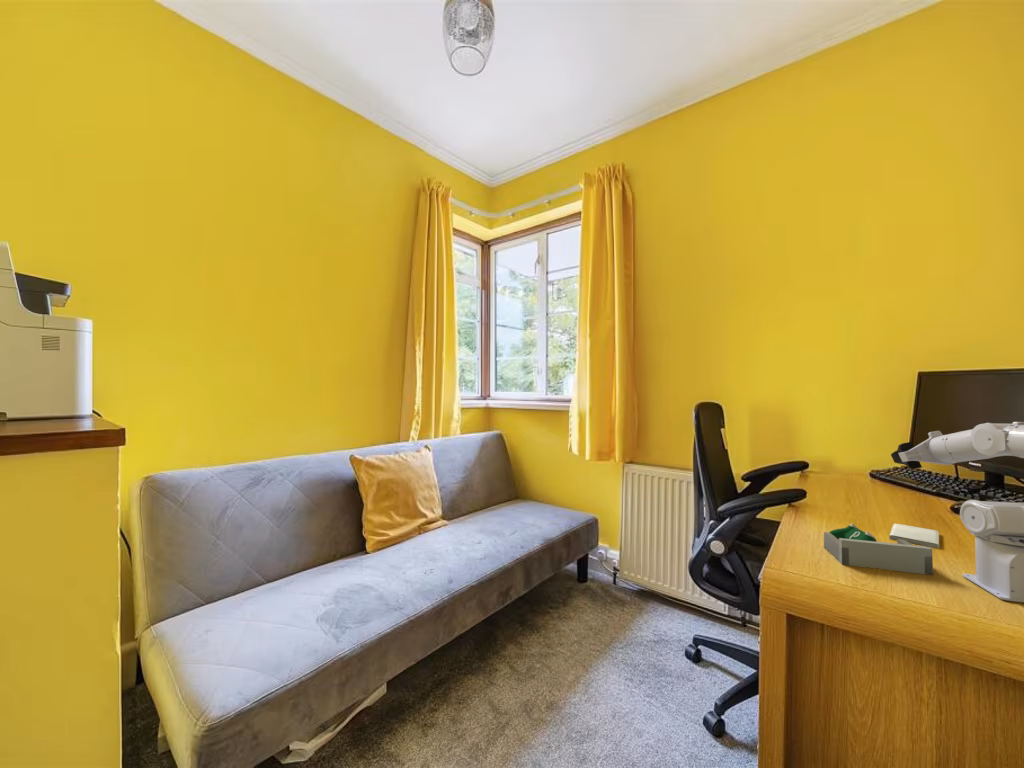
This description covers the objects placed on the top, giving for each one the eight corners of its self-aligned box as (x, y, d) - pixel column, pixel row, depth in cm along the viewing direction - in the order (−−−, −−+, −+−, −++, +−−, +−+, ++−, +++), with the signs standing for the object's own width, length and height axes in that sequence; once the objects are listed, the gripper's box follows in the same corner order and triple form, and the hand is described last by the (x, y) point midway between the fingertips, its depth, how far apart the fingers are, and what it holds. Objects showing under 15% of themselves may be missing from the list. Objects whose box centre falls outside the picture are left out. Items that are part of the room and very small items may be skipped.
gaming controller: (862, 562, 88) (884, 544, 87) (848, 548, 88) (870, 530, 87) (837, 545, 97) (857, 529, 96) (824, 533, 97) (844, 517, 96)
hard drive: (939, 544, 90) (939, 530, 98) (889, 534, 96) (893, 522, 104) (939, 551, 90) (939, 537, 98) (889, 541, 96) (893, 528, 104)
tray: (932, 575, 77) (932, 549, 77) (841, 564, 82) (841, 540, 82) (904, 556, 86) (904, 532, 86) (824, 547, 91) (823, 525, 91)
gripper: (992, 419, 80) (938, 431, 93) (912, 434, 82) (870, 444, 95) (1012, 454, 78) (954, 461, 91) (929, 468, 80) (884, 474, 93)
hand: (912, 454), depth 93 cm, fingers open, 7 cm apart
